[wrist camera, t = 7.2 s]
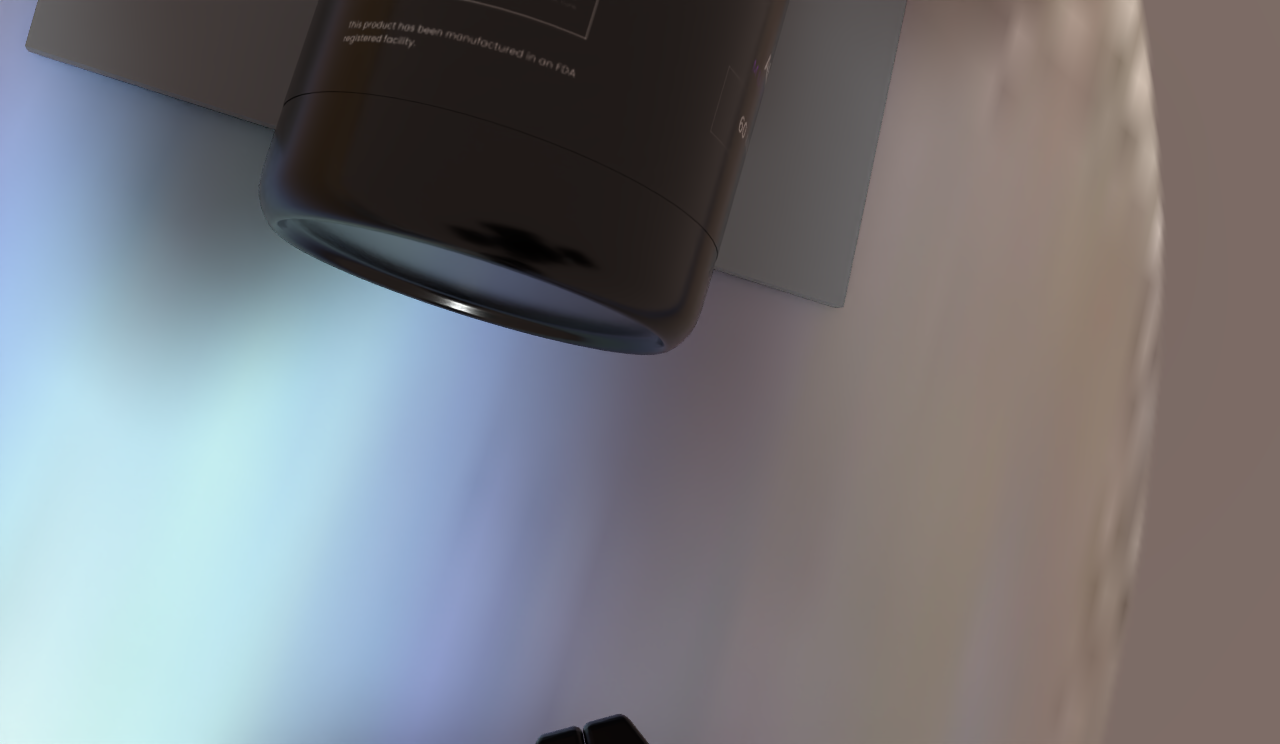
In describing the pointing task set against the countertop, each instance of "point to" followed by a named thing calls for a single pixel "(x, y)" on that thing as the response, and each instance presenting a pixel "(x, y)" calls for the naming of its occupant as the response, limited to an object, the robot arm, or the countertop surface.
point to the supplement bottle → (525, 155)
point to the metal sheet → (773, 168)
